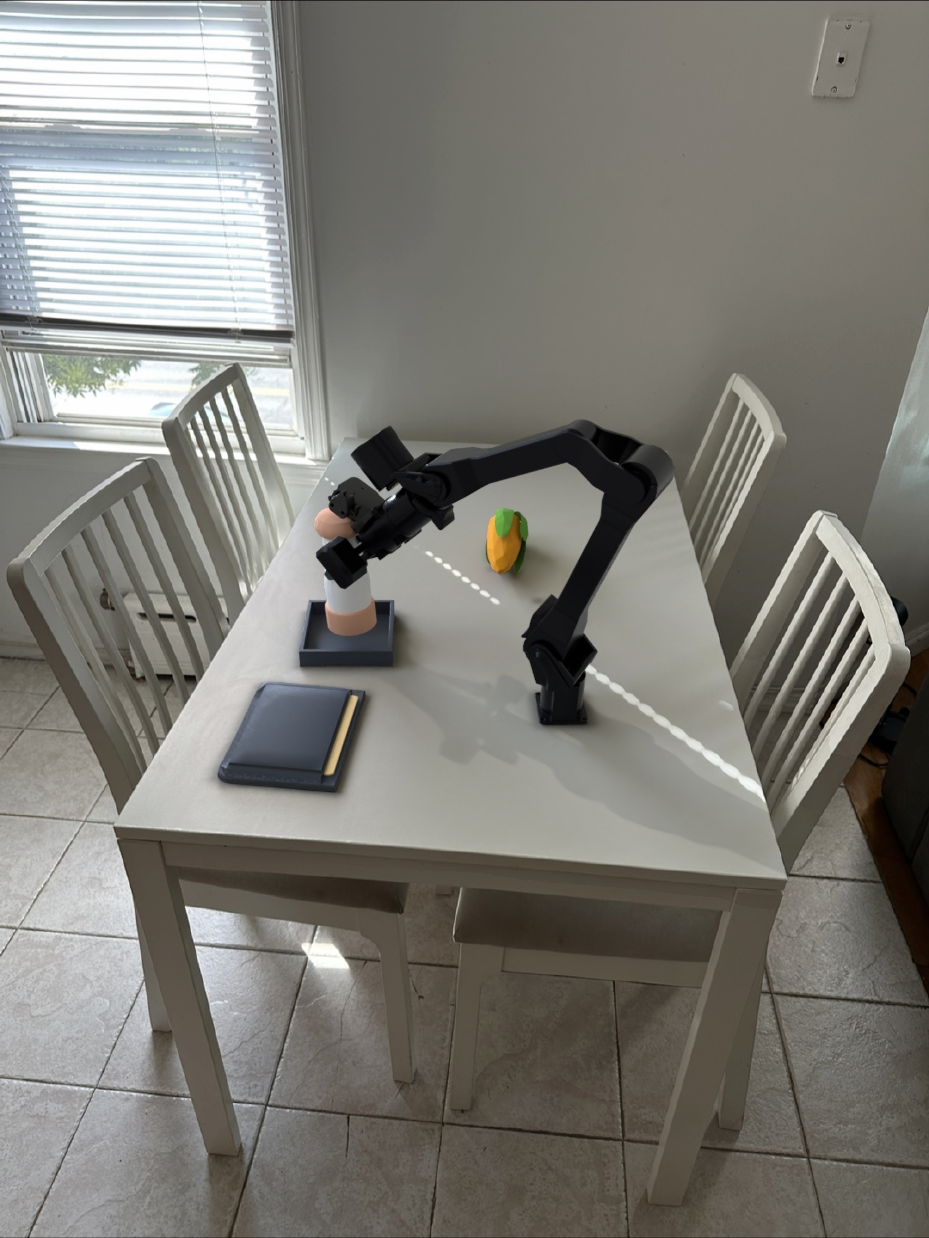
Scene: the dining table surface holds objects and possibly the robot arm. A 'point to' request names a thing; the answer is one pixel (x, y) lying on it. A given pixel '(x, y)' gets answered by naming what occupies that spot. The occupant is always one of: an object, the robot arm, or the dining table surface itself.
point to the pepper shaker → (353, 604)
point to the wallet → (293, 737)
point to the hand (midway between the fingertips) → (338, 568)
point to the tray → (347, 639)
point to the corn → (506, 540)
